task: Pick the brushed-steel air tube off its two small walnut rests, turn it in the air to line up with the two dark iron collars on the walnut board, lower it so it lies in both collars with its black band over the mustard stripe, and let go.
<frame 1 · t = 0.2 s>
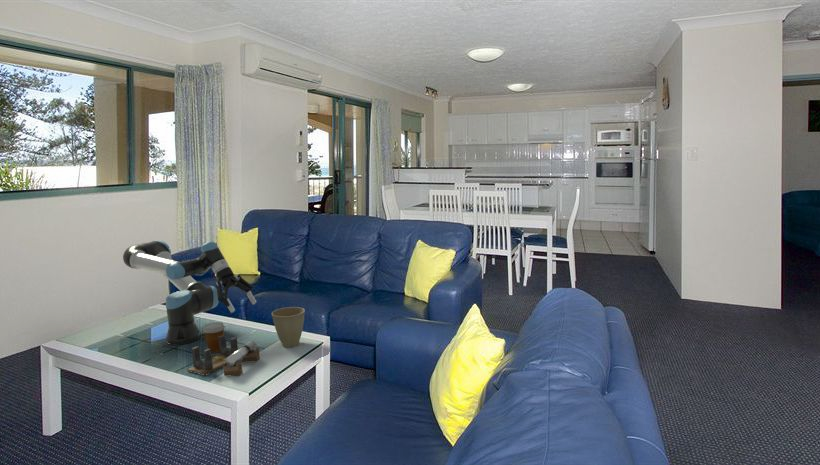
hand: (244, 307, 242), 16 cm above the table, tool tilted 35°, fingers open, 13 cm apart
tube stand: (242, 366, 210), on the table
plant pot: (290, 344, 234), on the table
disposable coffee cup: (216, 350, 230), on the table
air tube: (241, 357, 210), point 4 cm above the table, touching tube stand
collar block: (216, 363, 215), on the table
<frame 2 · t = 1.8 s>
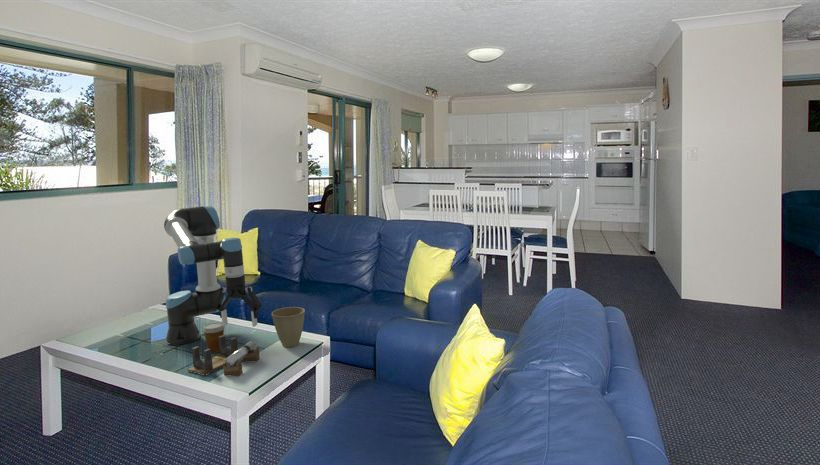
hand: (240, 325, 209), 18 cm above the table, tool pointing down, fingers open, 13 cm apart
nothing on the table moved.
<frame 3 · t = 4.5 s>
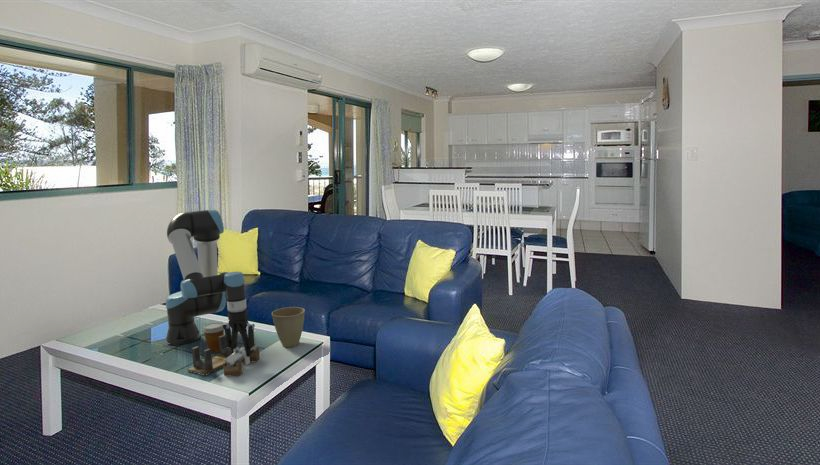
hand: (242, 363, 210), 2 cm above the table, tool pointing down, fingers closed on air tube, 4 cm apart
air tube: (241, 357, 210), point 4 cm above the table, touching gripper, tube stand
everything else where it was.
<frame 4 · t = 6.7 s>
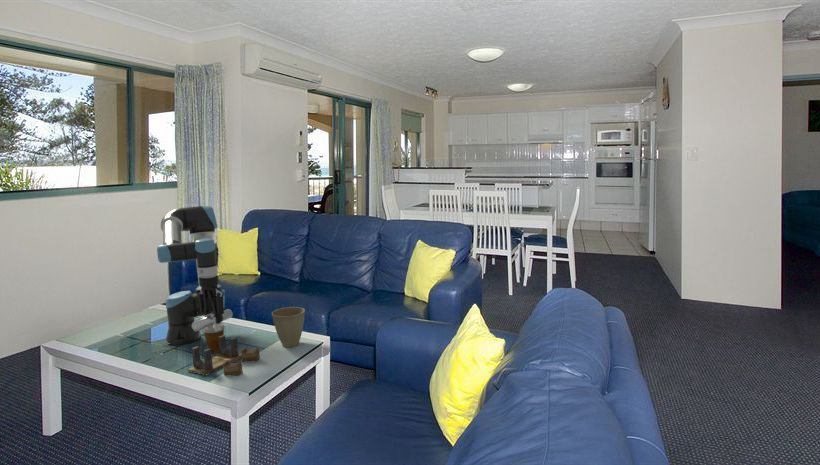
hand: (213, 329, 212), 15 cm above the table, tool pointing down, fingers closed on air tube, 4 cm apart
air tube: (213, 324, 212), point 18 cm above the table, touching gripper
everything else where it was.
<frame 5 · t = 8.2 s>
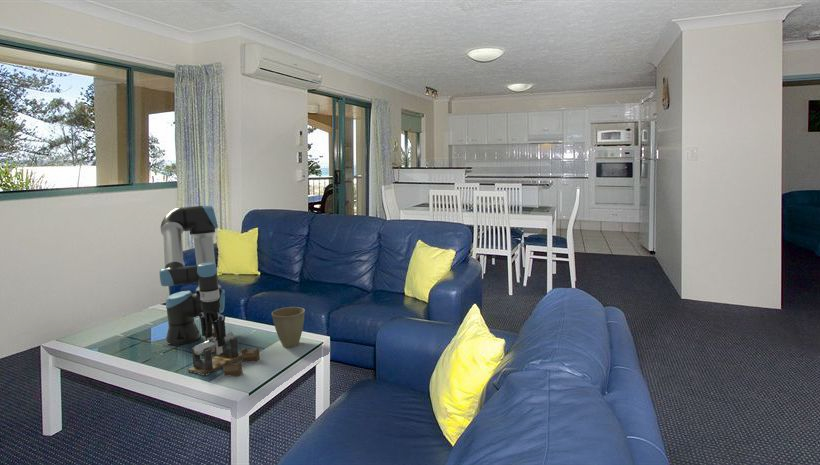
hand: (215, 352, 214), 5 cm above the table, tool pointing down, fingers closed on air tube, 4 cm apart
air tube: (215, 347, 213), point 8 cm above the table, touching gripper
everything else where it was.
when the fingers open (3 cm above the table, at t = 9.2 s): air tube drops 1 cm, resting on collar block.
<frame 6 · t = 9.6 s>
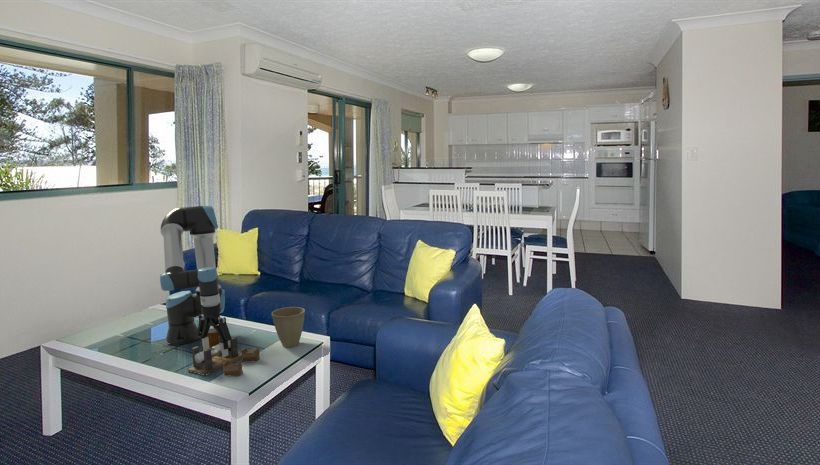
hand: (215, 354, 214), 4 cm above the table, tool pointing down, fingers open, 10 cm apart
air tube: (215, 355, 214), point 4 cm above the table, touching collar block
everything else where it was.
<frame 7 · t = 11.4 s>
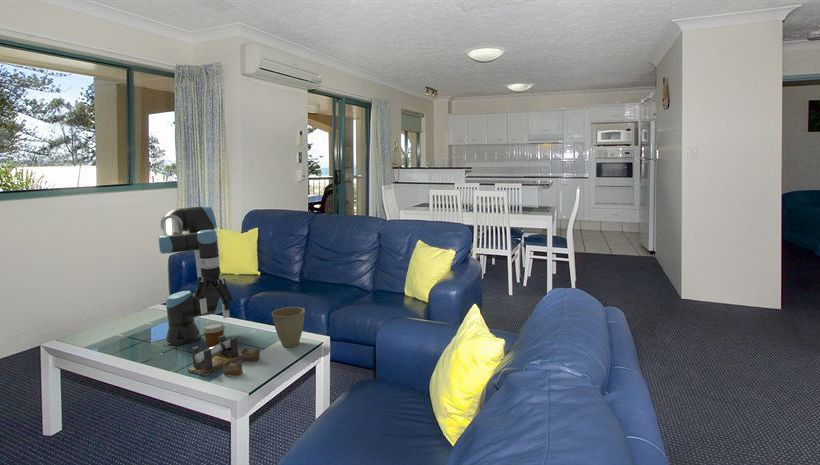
hand: (215, 315, 214), 21 cm above the table, tool pointing down, fingers open, 13 cm apart
nothing on the table moved.
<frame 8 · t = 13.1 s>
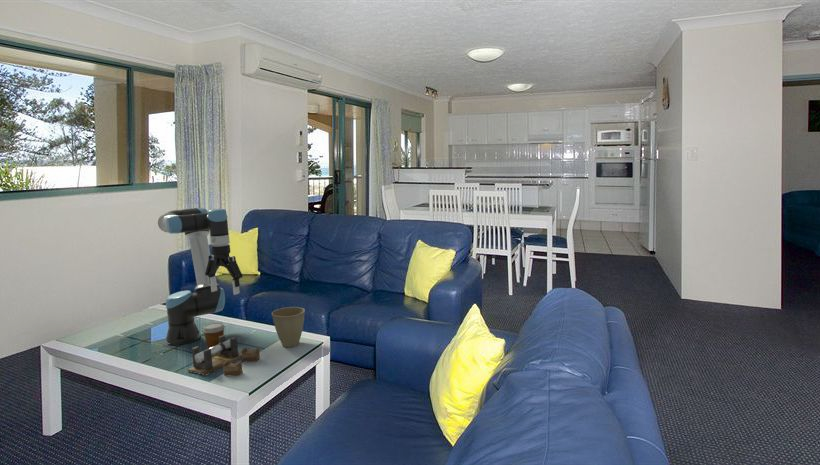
hand: (225, 292, 220), 29 cm above the table, tool pointing down, fingers open, 13 cm apart
nothing on the table moved.
at the end: air tube 0.0 cm off-centre on the collar block, point 4.0 cm above the collar block's base; air tube touching collar block; the gripper is holding nothing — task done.
